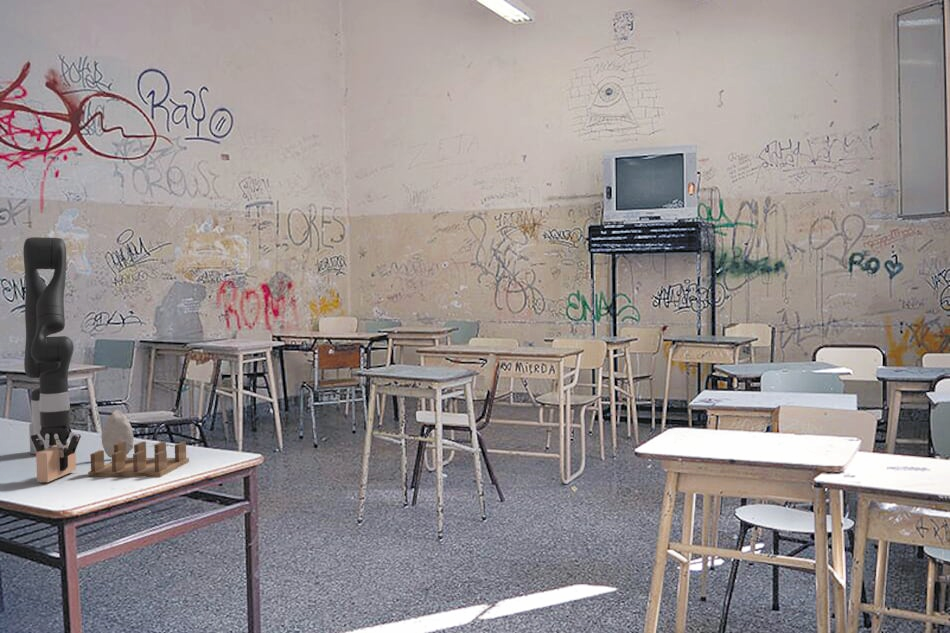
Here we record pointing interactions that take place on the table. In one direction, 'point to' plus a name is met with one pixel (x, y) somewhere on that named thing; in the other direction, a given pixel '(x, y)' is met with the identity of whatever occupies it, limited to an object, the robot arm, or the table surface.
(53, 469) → the peach rectangular block
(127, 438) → the stone tool
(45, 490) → the table surface
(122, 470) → the drying rack
